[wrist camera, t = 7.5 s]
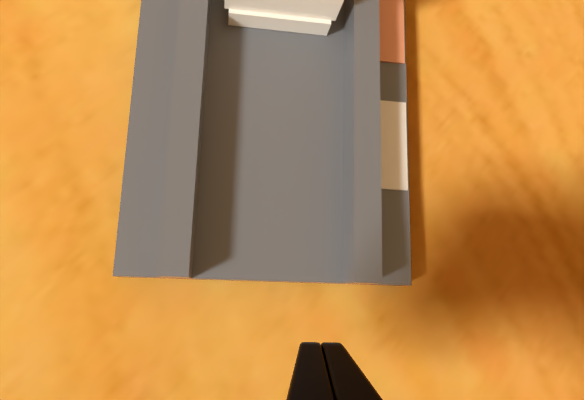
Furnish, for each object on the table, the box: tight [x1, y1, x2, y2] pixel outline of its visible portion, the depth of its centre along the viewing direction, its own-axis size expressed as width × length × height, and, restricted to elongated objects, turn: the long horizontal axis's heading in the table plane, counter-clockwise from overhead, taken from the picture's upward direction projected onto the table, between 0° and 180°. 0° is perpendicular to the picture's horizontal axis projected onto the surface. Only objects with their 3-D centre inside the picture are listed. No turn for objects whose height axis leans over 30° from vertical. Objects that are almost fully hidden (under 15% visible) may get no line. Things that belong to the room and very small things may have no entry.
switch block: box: [113, 0, 411, 286], centre depth 21 cm, size 16×13×3 cm
